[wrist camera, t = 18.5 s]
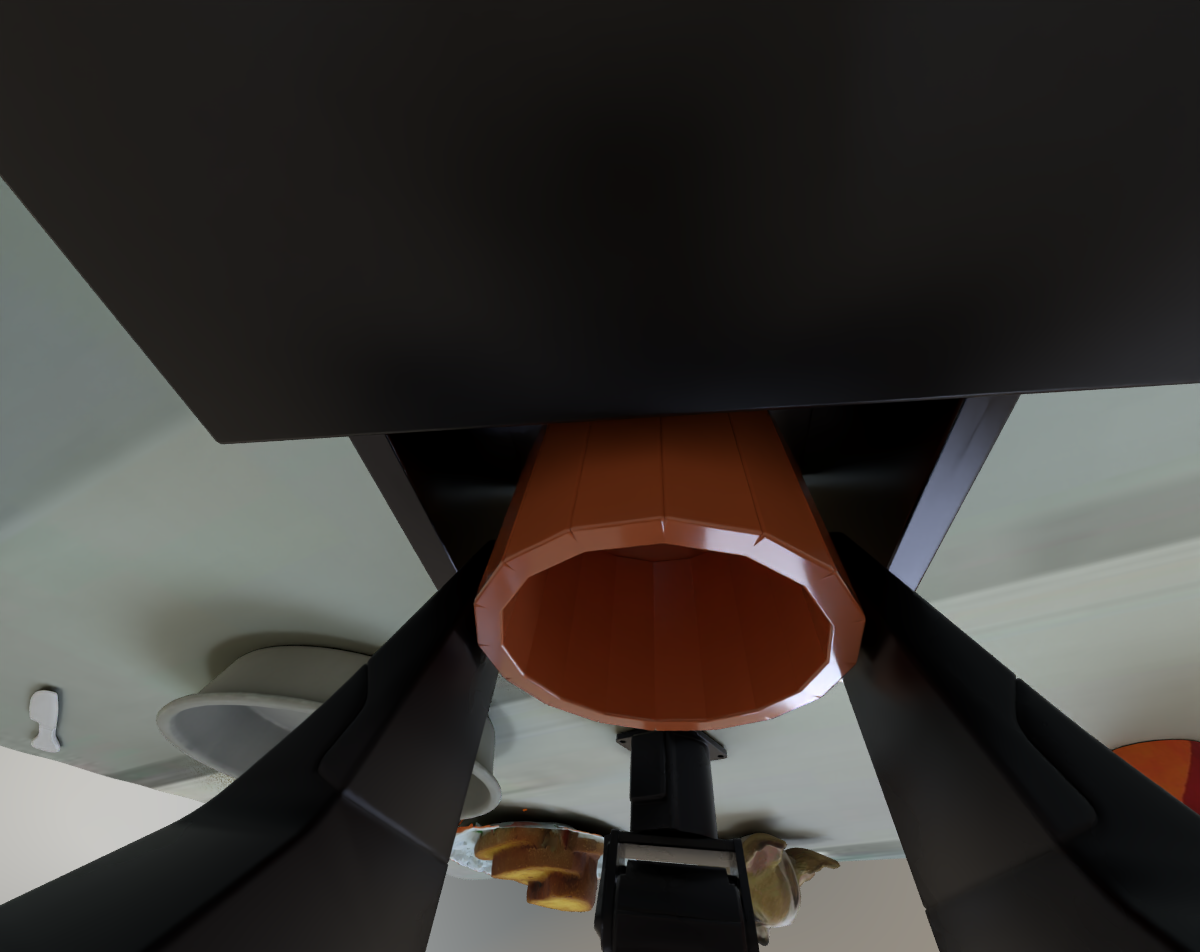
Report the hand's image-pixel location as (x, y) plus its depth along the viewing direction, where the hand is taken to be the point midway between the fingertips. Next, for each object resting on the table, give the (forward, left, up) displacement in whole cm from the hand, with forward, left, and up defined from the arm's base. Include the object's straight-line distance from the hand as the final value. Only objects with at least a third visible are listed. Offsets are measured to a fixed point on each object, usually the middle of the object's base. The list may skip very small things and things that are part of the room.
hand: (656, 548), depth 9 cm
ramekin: (0, 0, -2) cm, 3 cm away
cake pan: (-11, +35, -8) cm, 38 cm away
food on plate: (-46, +47, -8) cm, 67 cm away
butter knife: (+4, +71, -7) cm, 72 cm away
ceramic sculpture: (-54, +21, -8) cm, 58 cm away
